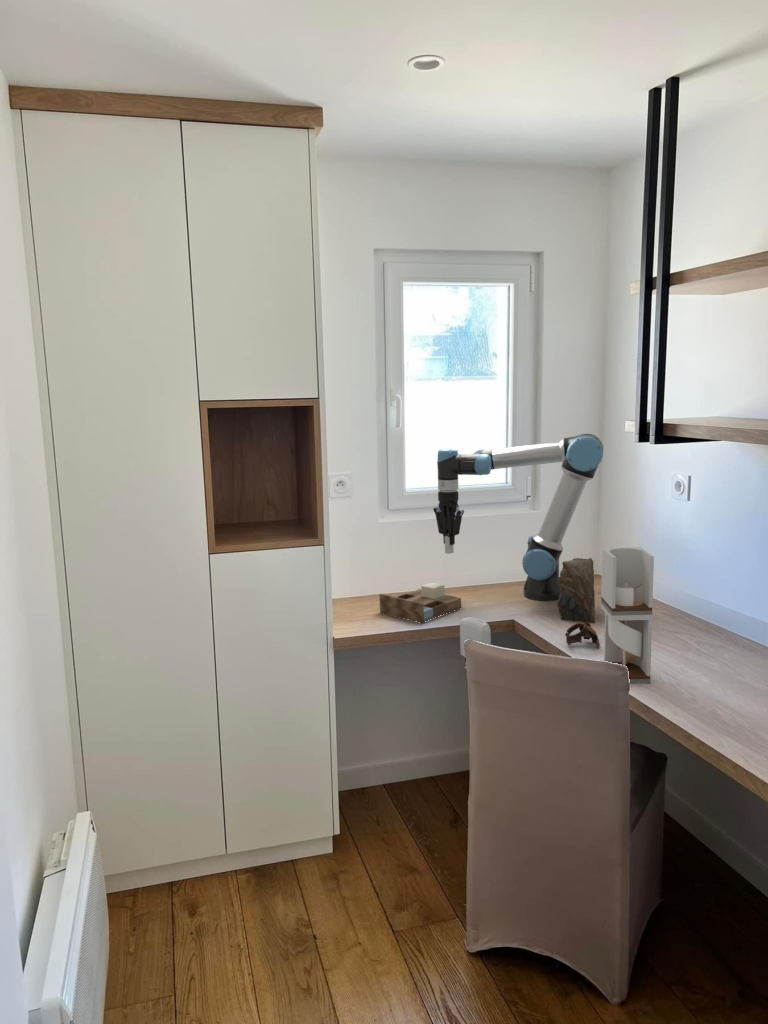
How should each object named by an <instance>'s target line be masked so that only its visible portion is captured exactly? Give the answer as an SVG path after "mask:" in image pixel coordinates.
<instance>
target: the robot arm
mask: <svg viewBox="0 0 768 1024" xmlns="http://www.w3.org/2000/svg"><path fill="white" fill-rule="evenodd" d="M603 457H604V445H603V443H602V440H601V439H600V438H598V436H596V435H595V434H592V433H581V434H579V435H575V436H569V437H564V438H562V439H561V440H560V441H554V442H553V441H552V442H544V443H535V444H527V445H520V446H519V445H518V446H513V447H512V446H510V447H504V448H503V447H502V448H493V449H486V450H485V449H479V450H477V451H475V452H473V453H471V454H467V453H466V454H461V453H460V454H459V450H458V449H457V448H441V449H439V450H438V451H437V461H436V462H437V464H436V466H437V490H438V492H437V501H439V502H438V505H437V506H436V507H433V510H432V511H433V512H434V514H435V520H436V524H437V525H436V526H437V530H438V534H441V535H442V536H443V537H442V538H443V545H444V553H445V554H446V555H447V554H449V555H450V554H453V553H454V545H455V542H456V541H455V540H456V539H455V537H456V536H458V535H460V530H461V524H462V519H463V515H464V513H465V510H464V509H461V508H460V507H459V503H458V501H459V491H458V489H459V476H460V475H461V476H462V475H464V476H486V475H489V474H491V471H492V470H498V469H506V468H507V469H509V468H518V467H528V466H536V465H546V464H554V463H555V464H556V463H562V464H561V466H560V467H561V470H562V476H561V477H560V479H559V483H558V485H557V487H556V489H555V491H554V492H555V493H554V494H553V498H552V500H551V503H550V504H549V507H548V509H547V512H546V513H545V514H546V515H545V517H544V520H543V521H542V524H541V526H540V529H539V532H538V533H537V534H535V535H531V536H529V537H528V538H527V550H526V552H525V554H524V555H523V557H522V569H523V571H524V572H525V574H526V575H527V577H526V580H525V583H524V586H523V591H522V592H523V593H522V594H523V596H524V597H525V598H528V599H531V600H538V601H539V600H540V601H552V600H559V594H560V593H561V591H562V588H561V586H560V582H559V578H560V558H561V555H562V553H563V551H564V547H563V544H562V542H563V539H564V536H565V534H566V531H567V530H568V527H569V525H570V523H571V520H572V518H573V515H574V512H575V511H576V508H577V506H578V503H579V501H580V499H581V496H582V494H583V491H584V489H585V487H586V484H587V482H588V481H591V480H593V479H594V477H595V475H596V471H597V469H598V467H599V465H600V464H601V462H602V460H603Z"/></svg>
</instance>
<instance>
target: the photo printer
mask: <svg viewBox="0 0 768 1024" xmlns="http://www.w3.org/2000/svg"><path fill="white" fill-rule="evenodd" d="M491 635H492V634H491V626H490V624H488V623H487V622H486V621H484V620H483V619H481V618H477V617H471V616H468V617H465V618H462V619H461V620H460V623H459V642H460V643H459V645H460V646H459V647H460V648H459V649H460V655H461V656H462V657H465V650H464V641H465V640H467V639H471V640H477V641H479V642H482V643H485V644H489V645H491V643H492V642H491V637H492V636H491ZM491 646H492V645H491ZM465 658H466V657H465Z"/></svg>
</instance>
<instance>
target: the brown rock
mask: <svg viewBox="0 0 768 1024" xmlns="http://www.w3.org/2000/svg"><path fill="white" fill-rule="evenodd" d="M561 565H562V568H561V570H560V572H559V577H560V578H559V582H560V586H561V588H562V591H561V593H560V594H559V599H557V608H558V611H559V614H560V619H561V621H566V622H568V621H569V622H577V623H581V622H583V623H585V622H588V623H589V624H595V623H596V622H595V619H596V610H595V609H596V607H595V600H596V599H595V586H594V585H595V577H594V576H595V574H594V573H595V569H594V560H593V559H592V558H591V557H590V558H579V557H576V558H572V559H571V560H564V561H562V563H561Z"/></svg>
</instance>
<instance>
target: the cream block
mask: <svg viewBox="0 0 768 1024" xmlns="http://www.w3.org/2000/svg"><path fill="white" fill-rule="evenodd" d="M420 586H421V587H420V589H421V595H422V596H423V597H427V598H432V599H436V598H438V597H441V596H444V594H445V584H441V583H437V582H429V583H425V584H423V585H420Z"/></svg>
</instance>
